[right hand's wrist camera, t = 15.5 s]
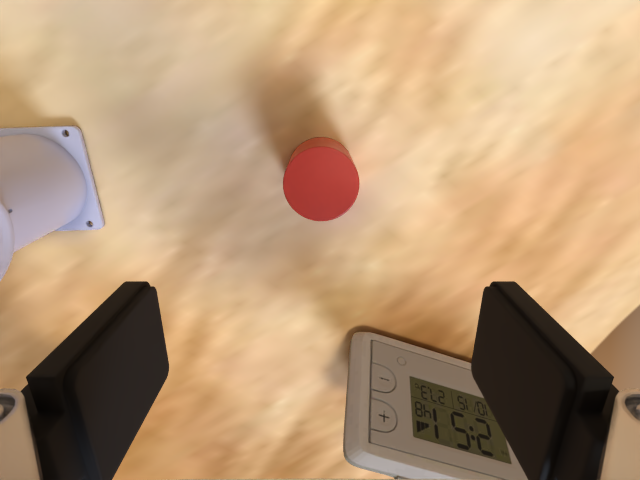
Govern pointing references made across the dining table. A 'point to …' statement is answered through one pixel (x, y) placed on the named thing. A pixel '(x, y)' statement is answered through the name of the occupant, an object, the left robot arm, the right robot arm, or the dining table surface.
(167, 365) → the right robot arm
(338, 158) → the can
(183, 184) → the dining table surface
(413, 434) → the digital clock
